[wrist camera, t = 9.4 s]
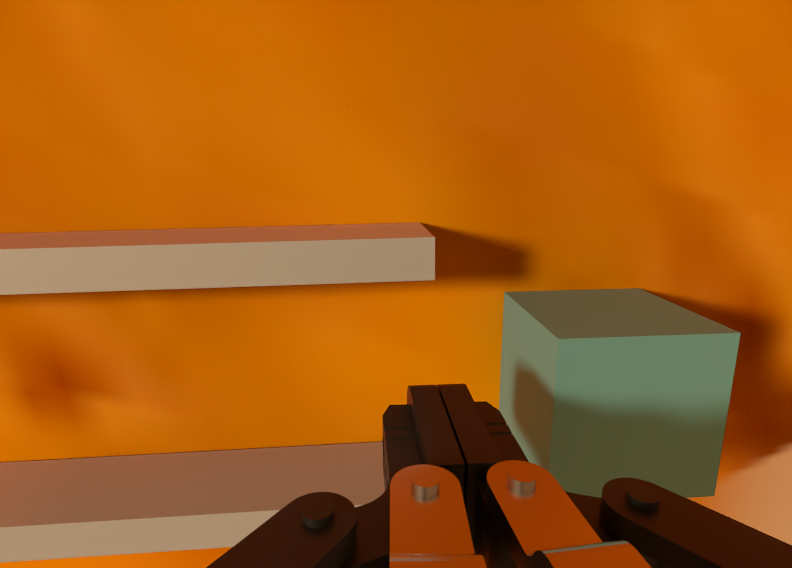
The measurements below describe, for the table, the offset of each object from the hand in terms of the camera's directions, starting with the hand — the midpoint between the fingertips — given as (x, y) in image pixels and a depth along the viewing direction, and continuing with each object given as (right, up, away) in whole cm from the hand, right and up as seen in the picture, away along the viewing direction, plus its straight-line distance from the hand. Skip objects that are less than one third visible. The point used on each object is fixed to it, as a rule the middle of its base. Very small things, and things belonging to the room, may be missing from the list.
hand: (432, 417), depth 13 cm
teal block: (+5, +1, +6) cm, 8 cm away
